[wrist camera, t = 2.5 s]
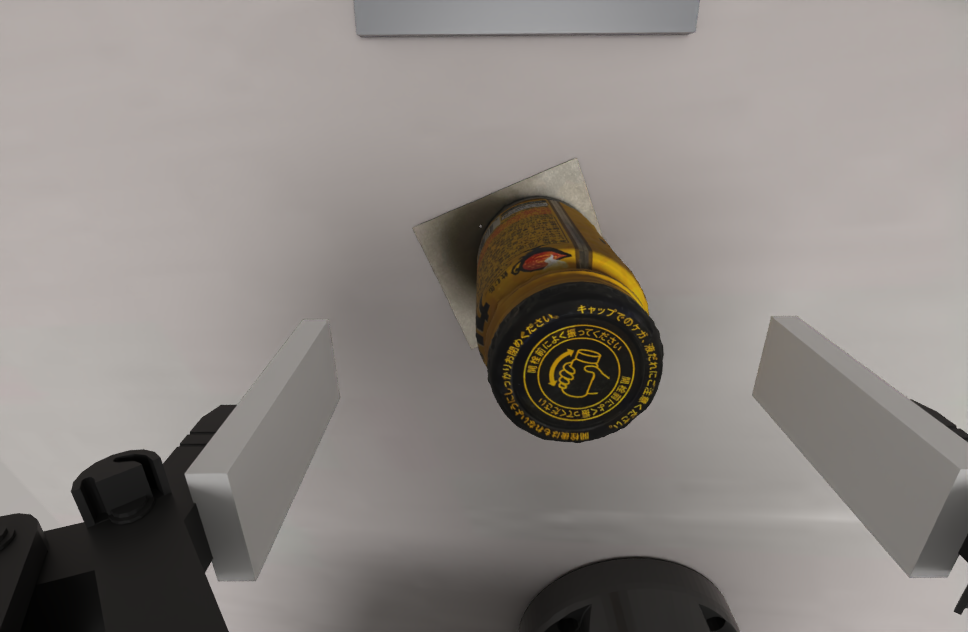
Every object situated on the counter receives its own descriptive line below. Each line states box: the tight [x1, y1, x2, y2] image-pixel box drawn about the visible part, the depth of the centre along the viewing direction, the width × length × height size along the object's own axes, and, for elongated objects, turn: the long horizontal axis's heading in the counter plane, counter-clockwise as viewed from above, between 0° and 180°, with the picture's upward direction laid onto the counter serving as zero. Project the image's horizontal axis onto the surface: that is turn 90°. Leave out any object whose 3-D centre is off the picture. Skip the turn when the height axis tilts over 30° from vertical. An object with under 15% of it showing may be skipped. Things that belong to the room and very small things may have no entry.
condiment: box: [412, 158, 664, 443], centre depth 21 cm, size 7×8×12 cm
